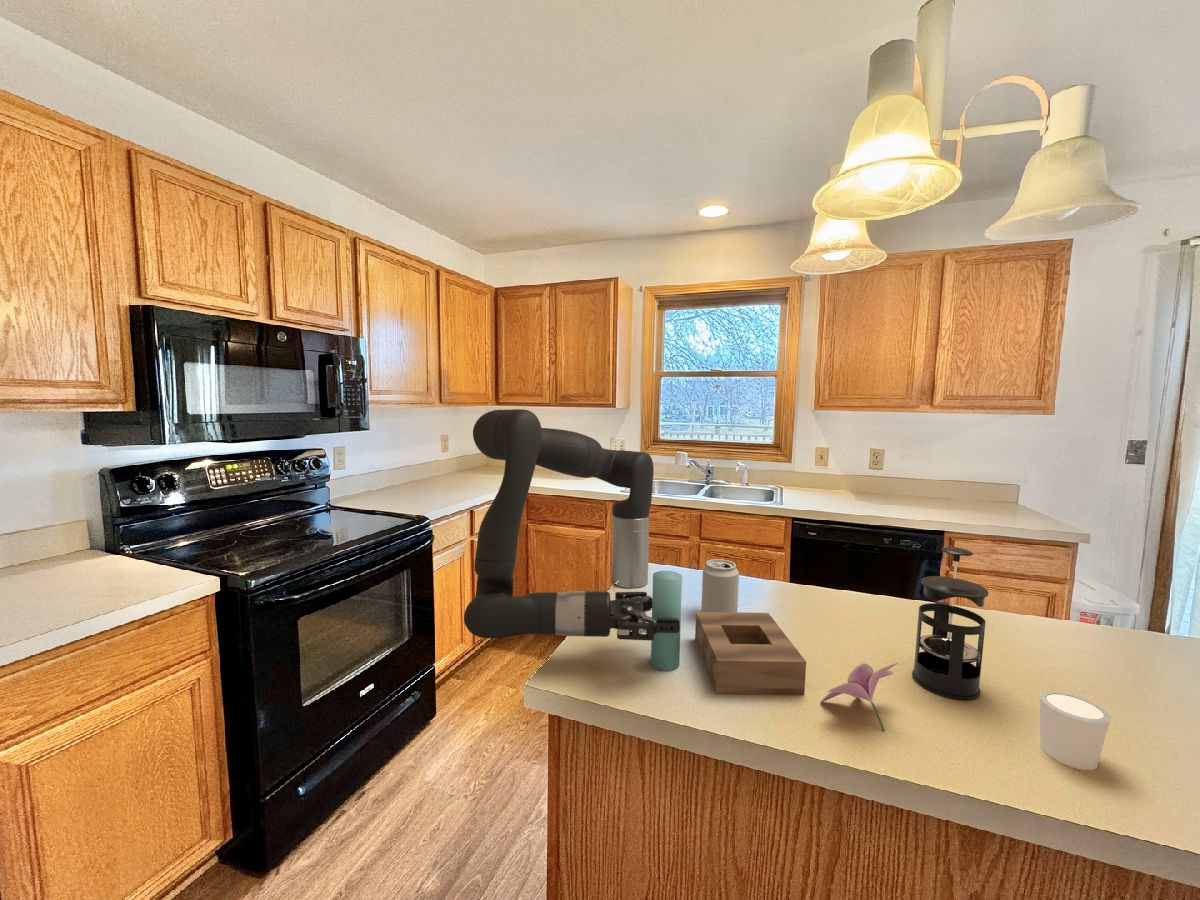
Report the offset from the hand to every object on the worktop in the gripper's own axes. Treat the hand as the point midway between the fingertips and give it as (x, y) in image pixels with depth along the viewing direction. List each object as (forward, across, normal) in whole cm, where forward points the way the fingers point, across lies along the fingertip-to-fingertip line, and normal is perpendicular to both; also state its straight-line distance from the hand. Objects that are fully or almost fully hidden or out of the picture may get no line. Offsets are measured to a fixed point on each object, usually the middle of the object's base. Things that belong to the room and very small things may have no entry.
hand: (675, 614), depth 88 cm
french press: (+44, -5, +9) cm, 46 cm away
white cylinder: (+49, -22, +9) cm, 55 cm away
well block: (+12, 0, +9) cm, 15 cm away
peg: (-2, 0, +9) cm, 9 cm away
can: (+12, +19, +9) cm, 24 cm away
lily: (+26, -14, +9) cm, 31 cm away
